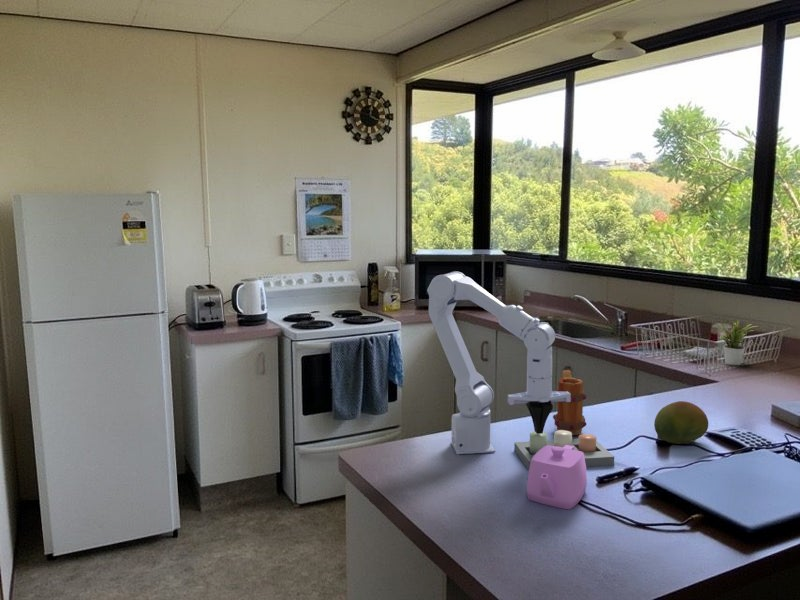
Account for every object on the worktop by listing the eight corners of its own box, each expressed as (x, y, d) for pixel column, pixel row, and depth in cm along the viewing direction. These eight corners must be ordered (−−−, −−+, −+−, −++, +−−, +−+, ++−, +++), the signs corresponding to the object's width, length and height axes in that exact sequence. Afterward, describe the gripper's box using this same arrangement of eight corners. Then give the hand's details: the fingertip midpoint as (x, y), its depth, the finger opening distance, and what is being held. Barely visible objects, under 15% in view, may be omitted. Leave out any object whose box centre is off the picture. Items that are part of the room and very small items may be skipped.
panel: (529, 470, 145) (529, 461, 145) (514, 450, 157) (514, 442, 156) (614, 464, 147) (614, 456, 147) (593, 445, 159) (593, 437, 158)
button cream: (557, 454, 149) (557, 436, 149) (551, 447, 153) (552, 430, 153) (574, 453, 150) (574, 435, 149) (567, 446, 154) (568, 429, 153)
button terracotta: (582, 458, 150) (582, 440, 150) (575, 451, 154) (576, 434, 153) (598, 457, 151) (599, 439, 150) (591, 450, 155) (592, 433, 154)
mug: (588, 439, 163) (589, 382, 160) (555, 438, 164) (556, 381, 161) (579, 420, 177) (581, 367, 175) (549, 419, 178) (550, 367, 176)
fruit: (712, 440, 161) (714, 402, 159) (694, 455, 152) (697, 415, 150) (665, 430, 168) (667, 393, 167) (646, 443, 159) (647, 405, 158)
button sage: (532, 455, 149) (532, 438, 148) (527, 449, 153) (527, 431, 152) (549, 454, 149) (549, 437, 149) (543, 448, 153) (543, 431, 152)
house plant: (766, 368, 227) (769, 323, 224) (727, 369, 227) (729, 324, 225) (745, 359, 241) (748, 316, 239) (708, 359, 241) (710, 317, 239)
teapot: (568, 520, 122) (569, 469, 120) (515, 507, 127) (516, 458, 126) (593, 485, 137) (595, 439, 135) (546, 474, 143) (547, 430, 141)
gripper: (513, 382, 143) (513, 439, 145) (576, 379, 145) (574, 436, 147) (505, 373, 150) (504, 429, 152) (564, 371, 152) (563, 425, 154)
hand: (538, 432), depth 150 cm, fingers closed
